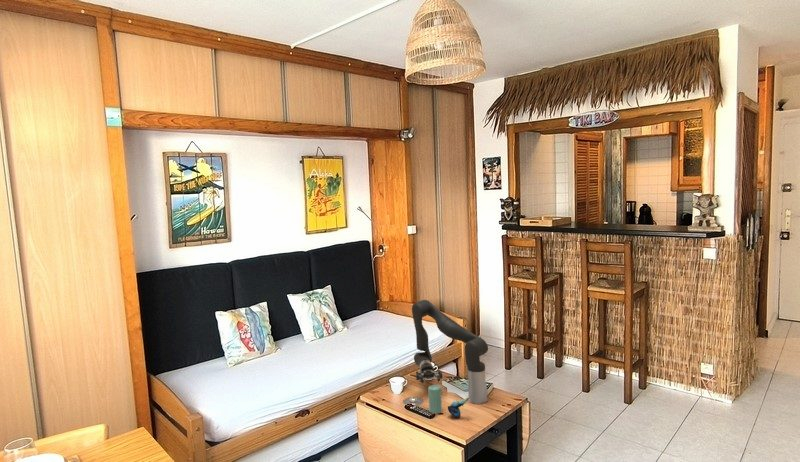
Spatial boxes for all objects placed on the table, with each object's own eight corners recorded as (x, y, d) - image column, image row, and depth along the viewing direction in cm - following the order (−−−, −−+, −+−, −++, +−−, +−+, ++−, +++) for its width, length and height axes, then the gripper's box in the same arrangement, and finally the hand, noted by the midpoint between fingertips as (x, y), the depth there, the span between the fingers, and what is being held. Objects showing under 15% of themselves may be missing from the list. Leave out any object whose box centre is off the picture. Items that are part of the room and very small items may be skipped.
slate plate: (422, 397, 267) (422, 396, 266) (424, 406, 256) (424, 405, 256) (402, 398, 266) (402, 397, 266) (404, 407, 255) (404, 406, 255)
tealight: (416, 399, 263) (416, 395, 263) (417, 402, 259) (417, 398, 259) (409, 400, 262) (409, 396, 262) (410, 403, 258) (409, 399, 258)
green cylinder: (440, 408, 252) (439, 384, 251) (442, 414, 246) (441, 389, 244) (428, 409, 251) (427, 385, 250) (430, 415, 245) (429, 390, 244)
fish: (467, 420, 238) (467, 400, 237) (447, 419, 240) (446, 399, 239) (468, 416, 242) (467, 396, 242) (448, 415, 244) (447, 395, 244)
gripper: (414, 363, 274) (417, 374, 258) (438, 361, 275) (443, 373, 259) (414, 376, 275) (417, 388, 259) (439, 374, 276) (444, 386, 260)
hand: (430, 380), depth 259 cm, fingers open, 8 cm apart
